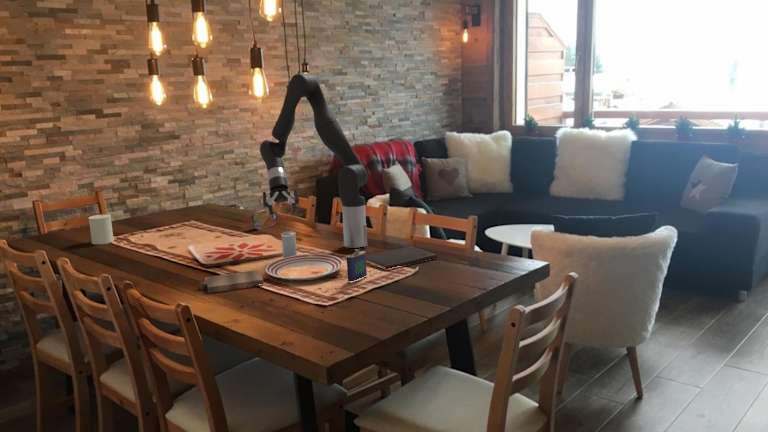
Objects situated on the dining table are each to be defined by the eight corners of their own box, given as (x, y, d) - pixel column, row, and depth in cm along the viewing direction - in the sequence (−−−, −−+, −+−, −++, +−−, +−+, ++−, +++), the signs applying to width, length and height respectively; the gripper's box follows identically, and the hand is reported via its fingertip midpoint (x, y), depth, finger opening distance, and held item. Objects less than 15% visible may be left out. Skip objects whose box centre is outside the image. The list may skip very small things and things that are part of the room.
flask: (362, 275, 226) (361, 245, 223) (369, 276, 224) (368, 246, 222) (345, 282, 218) (344, 251, 216) (352, 284, 217) (351, 253, 214)
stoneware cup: (297, 256, 253) (295, 231, 251) (297, 259, 247) (295, 234, 245) (283, 257, 252) (281, 232, 250) (282, 260, 247) (280, 235, 245)
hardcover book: (362, 262, 243) (361, 256, 242) (411, 251, 255) (411, 246, 254) (386, 272, 230) (385, 266, 229) (437, 260, 242) (437, 254, 241)
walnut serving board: (257, 275, 230) (256, 270, 229) (263, 285, 219) (263, 279, 218) (198, 283, 223) (197, 278, 222) (201, 294, 212) (201, 288, 211)
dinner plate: (322, 288, 214) (321, 278, 213) (251, 281, 224) (250, 272, 223) (355, 265, 238) (355, 256, 238) (290, 260, 249) (289, 251, 248)
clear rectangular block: (254, 231, 297) (253, 213, 295) (249, 230, 299) (248, 212, 297) (278, 224, 309) (277, 207, 307) (273, 224, 311) (272, 206, 309)
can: (118, 239, 292) (114, 213, 289) (107, 244, 283) (104, 217, 280) (98, 239, 293) (95, 213, 290) (87, 244, 284) (83, 217, 281)
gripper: (260, 176, 261) (265, 210, 253) (295, 174, 265) (301, 206, 256) (260, 187, 267) (264, 220, 259) (294, 185, 271) (300, 217, 263)
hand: (283, 213), depth 258 cm, fingers open, 8 cm apart
